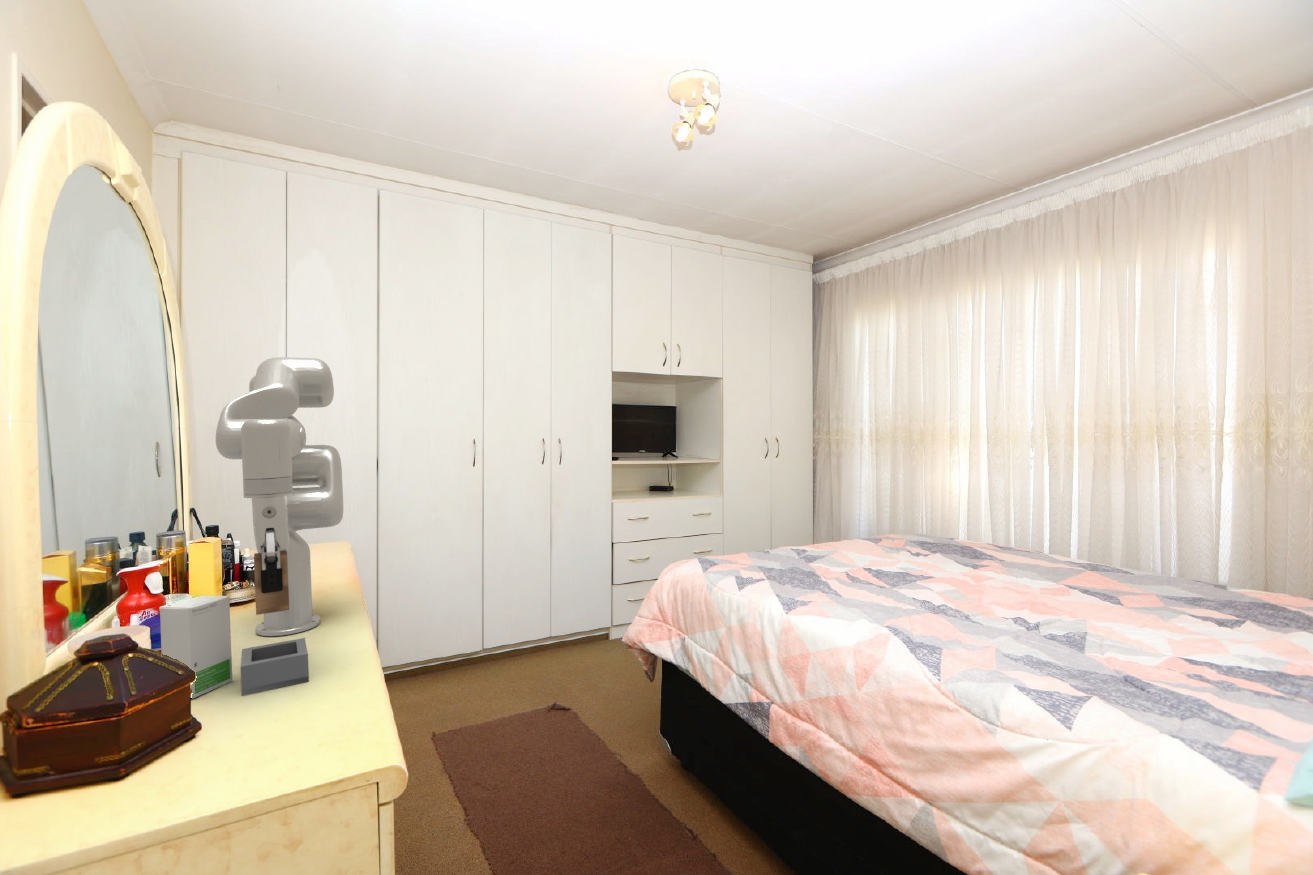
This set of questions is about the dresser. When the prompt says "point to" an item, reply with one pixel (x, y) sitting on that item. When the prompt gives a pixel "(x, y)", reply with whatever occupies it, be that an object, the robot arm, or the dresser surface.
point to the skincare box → (199, 639)
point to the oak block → (272, 599)
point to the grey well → (274, 666)
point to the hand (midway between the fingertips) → (272, 587)
